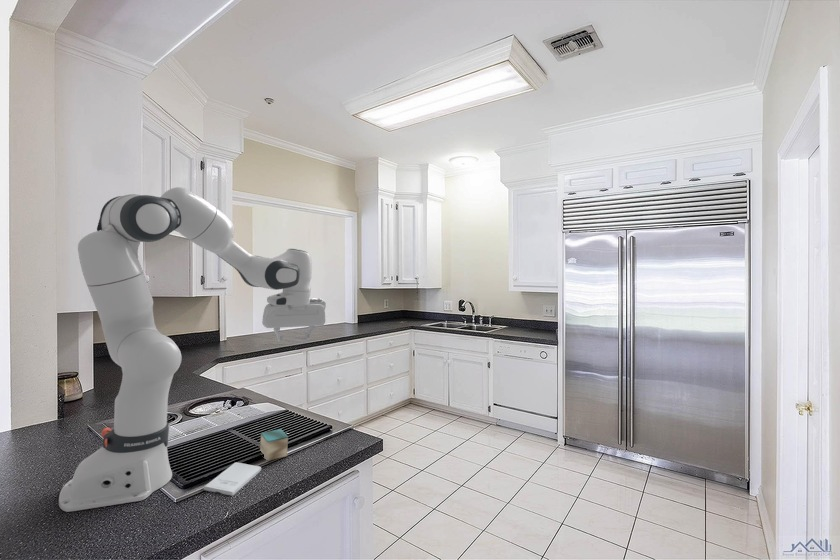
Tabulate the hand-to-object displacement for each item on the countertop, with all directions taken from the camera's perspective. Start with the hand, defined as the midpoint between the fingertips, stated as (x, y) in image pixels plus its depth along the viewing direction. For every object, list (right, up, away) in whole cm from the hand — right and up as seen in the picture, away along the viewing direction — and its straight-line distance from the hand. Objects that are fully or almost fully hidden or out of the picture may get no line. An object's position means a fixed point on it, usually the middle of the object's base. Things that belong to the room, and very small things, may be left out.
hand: (293, 339), depth 137 cm
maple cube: (-2, -26, -14) cm, 30 cm away
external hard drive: (-7, -33, -28) cm, 44 cm away
